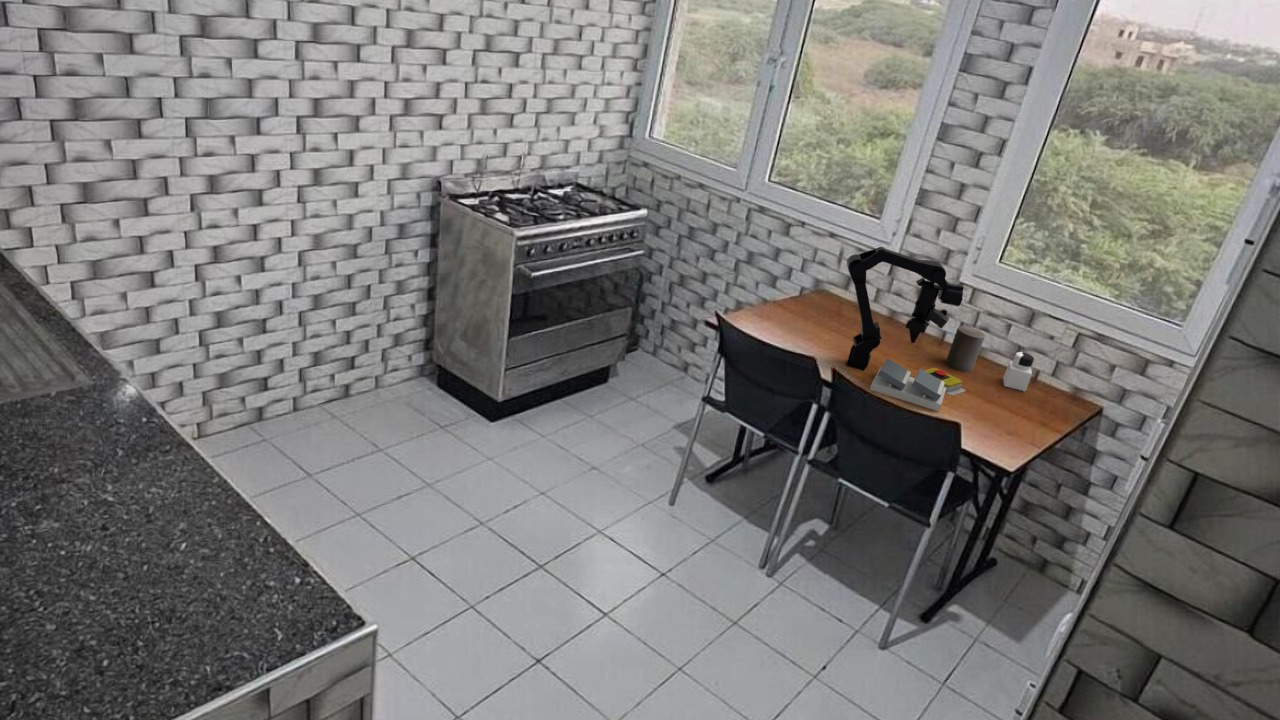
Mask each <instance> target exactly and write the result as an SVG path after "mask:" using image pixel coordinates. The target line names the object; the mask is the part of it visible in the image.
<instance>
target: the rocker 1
mask: <svg viewBox="0 0 1280 720" xmlns="http://www.w3.org/2000/svg"><path fill="white" fill-rule="evenodd" d="M880 368H881V370H880V371H879V370H878V371H879V373H878V372H877V373H878V375H879V376H880V377H882V378H884V379H885V380H887V381H888V382H890V383H892V384H893V385H895V386H897V387H898V388H900V389H902V390H903V389H904V387H905V386H906V384H907V381H908V379H909V377H911V374H912V372H911V371H910V370H908V369H907V368H904V367H902V366H901V365H900V364H898V363H897V362H894V361H893V360H892V359H889V358H888V357H887V358H886V359H885V360H884V362H883V364H882V366H881V367H880Z"/></svg>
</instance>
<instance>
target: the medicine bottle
mask: <svg viewBox="0 0 1280 720" xmlns="http://www.w3.org/2000/svg"><path fill="white" fill-rule="evenodd" d="M1034 360H1035V358H1034V356H1033V355H1031V354H1030V353H1027V352H1024V351H1018V352H1016V353H1015V355H1014V358H1013V360H1012V361H1008V365H1007V367H1006V370H1005V373H1004V375H1003V380H1002V381H1003V386H1004V387H1007V388H1010V389H1014V390H1017V389H1018V390H1017V391H1021V390H1022V391H1021V392H1026V391H1027V388H1028V386H1029V384H1030V380H1031V378H1032V376H1033V372H1032V366H1033V363H1034Z"/></svg>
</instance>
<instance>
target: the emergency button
mask: <svg viewBox="0 0 1280 720" xmlns="http://www.w3.org/2000/svg"><path fill="white" fill-rule="evenodd" d="M923 370H924V371H926V372H927V373H929V374H931V375H933V376H934V377H936V378H938V379H939V380H941V381H943V382H945V385H944V387H945V388H946V391H945V394H947V395H948V396H955V395H958V394H962V393H965V392H967V390H966V389H964V388H962V383H963V380H961V379H959V378H957V377H955V376H953V375H951V374H949V373H947V372H946V371H944V370H941V369H940V368H937V367H932V368H931V367H930V368H928V369H926V370H925V369H923ZM915 377H916V375H915ZM915 377H914V378H915Z"/></svg>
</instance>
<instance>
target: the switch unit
mask: <svg viewBox="0 0 1280 720" xmlns="http://www.w3.org/2000/svg"><path fill="white" fill-rule="evenodd" d="M881 368H882V367H879V369H878V371H877V373H876V374H875V377H874V379H873V380H872V382H871V386H870V388H869V390H870V391H873V392H876V393H880V394H882V395H886V396H889V397H892V398H896V399H898V400H902V401H904V402H908V403H912V404H915V405H917V406H921V407H924V408H926V409H930V410H932V411H937V412H939V411H940V409H941V406H942V403H943V401H944V397H945V394H946V393H945V391H946V388H945V387H944V388H943V391H942V394H941V397H940V398H939V399H938V401H937V400H935V399H933V398H932V397H930V396H928V395H927V394H925V393H923V392H922V391H920V390H918V389H917V388H915V387H913V386H912V384H913V382H914V379H915V377H912V376H910V377H909V379H908V381H907V384H906V386H905V387H904V389H903V390H902V389H900V388H898V387H897V386H895V385H893V384H892V383H890V382H888V381H887V380H885V379H884V378H882V377H880V376H879V375H878V373H879V371H880V370H881Z"/></svg>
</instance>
